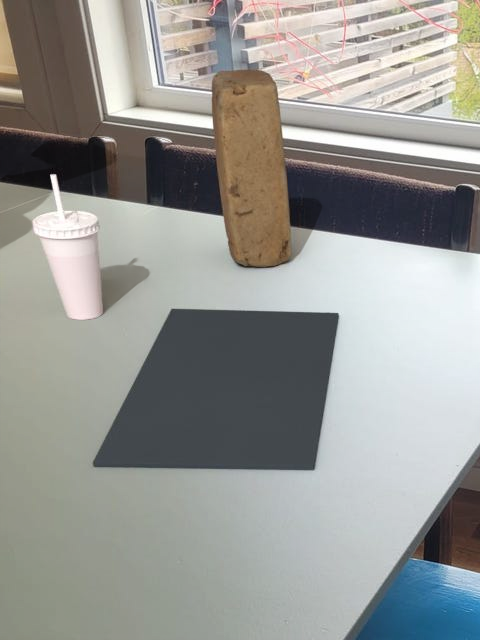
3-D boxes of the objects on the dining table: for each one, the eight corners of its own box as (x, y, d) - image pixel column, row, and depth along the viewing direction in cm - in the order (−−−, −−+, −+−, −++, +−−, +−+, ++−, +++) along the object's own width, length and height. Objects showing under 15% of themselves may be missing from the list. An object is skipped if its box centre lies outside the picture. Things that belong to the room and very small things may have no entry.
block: (295, 269, 120) (282, 82, 108) (232, 272, 118) (211, 83, 106) (282, 240, 128) (269, 64, 116) (223, 243, 126) (203, 64, 114)
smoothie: (42, 321, 104) (8, 179, 96) (70, 299, 109) (40, 162, 101) (100, 327, 104) (72, 184, 95) (126, 305, 109) (101, 168, 100)
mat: (93, 466, 82) (92, 462, 81) (172, 312, 108) (171, 308, 108) (314, 470, 83) (313, 465, 83) (338, 316, 109) (338, 312, 109)
